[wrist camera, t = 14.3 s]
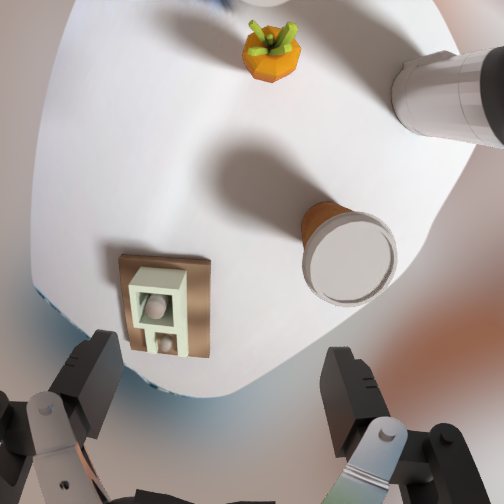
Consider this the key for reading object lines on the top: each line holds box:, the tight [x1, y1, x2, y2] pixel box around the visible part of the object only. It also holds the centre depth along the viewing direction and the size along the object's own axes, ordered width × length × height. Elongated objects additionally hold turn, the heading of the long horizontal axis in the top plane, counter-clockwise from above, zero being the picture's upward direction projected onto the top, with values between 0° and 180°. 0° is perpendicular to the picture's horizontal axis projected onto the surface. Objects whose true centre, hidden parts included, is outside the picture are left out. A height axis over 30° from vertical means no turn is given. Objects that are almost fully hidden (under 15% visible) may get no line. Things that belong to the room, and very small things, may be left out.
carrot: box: [242, 20, 301, 83], centre depth 25 cm, size 5×5×15 cm
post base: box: [118, 254, 211, 358], centre depth 40 cm, size 15×12×6 cm
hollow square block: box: [129, 267, 189, 358], centre depth 39 cm, size 14×6×5 cm, turn 175°
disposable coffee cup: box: [301, 202, 397, 307], centre depth 33 cm, size 10×10×12 cm
